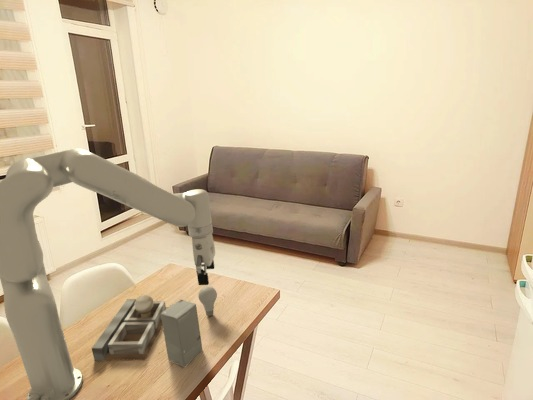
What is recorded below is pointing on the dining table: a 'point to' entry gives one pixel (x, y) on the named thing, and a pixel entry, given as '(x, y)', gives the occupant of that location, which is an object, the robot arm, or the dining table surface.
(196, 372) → the dining table surface
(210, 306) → the lightbulb
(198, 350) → the skincare box
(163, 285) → the dining table surface
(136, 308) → the compartment tray
